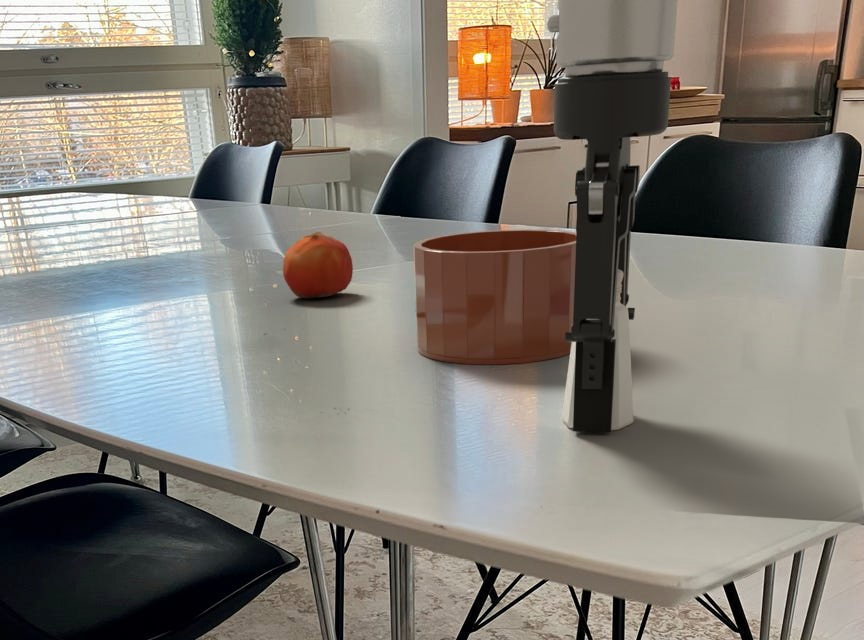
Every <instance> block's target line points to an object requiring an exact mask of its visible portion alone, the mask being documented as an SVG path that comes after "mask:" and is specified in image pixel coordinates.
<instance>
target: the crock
mask: <svg viewBox="0 0 864 640" xmlns="http://www.w3.org/2000/svg"><path fill="white" fill-rule="evenodd" d="M412 247H413V249H412V250H413V273H414V299H415V324H416V325H415V327H416V344H417V352H418V353H419V354H420V355H422V356H423V357H426V358H428V359H431V360H435V361H440V362H446V363H452V364H464V365H485V366H486V365H490V366H491V365H493V366H494V365H514V364H515V365H516V364H527V363H535V362H541V361H547V360H552V359H557V358H560V357H564V356H567V355H570V351H571V344H572V342H566V340H565V332H571V328H572V325H573V314H574V286H575V259H576V231H568V230H557V229H556V230H555V229H499V230H498V229H497V230H482V231H469V232H460V233H451V234H445V235H438V236H433V237H429V238H425V239H421V240H418V241H416V242H415V243H413V245H412Z"/></svg>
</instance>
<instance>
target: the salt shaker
mask: <svg viewBox="0 0 864 640" xmlns="http://www.w3.org/2000/svg"><path fill="white" fill-rule="evenodd" d="M623 275H624V273H623V271H621V270H619V269H618V275H617V288H616V302H615V315H614V328H613V329H614V330H615V336H614V337H613V339H616V347H615V366H614V386H613V405H612V424H611V431H618V430H621V429H623V428H626V427H627V426H630V425H631V424H633V422H634V403H633V402H634V400H633V384H632V383H633V382H632V381H633V380H632V379H633V378H632V377H633V376H632V359H631V358H632V355H631V338H630V337H631V333H630V320H629V315H628V308H629V307H627V305H626V306H624V305H623V304H621V303H620V300H621V297H620V293H621V292H622V291H621V290H622V288H621V287H622V285H621V282H622V279H623ZM586 320H600V319H586ZM575 353H576V342H572V344H571V351H570V354H569V360H568V367H567V375H566V382H565V390H564V397H563V406H562V414H561V419H562V421H563V423H564V424H565V425H566V426H567V428H569V429H573V413H574V383H575Z"/></svg>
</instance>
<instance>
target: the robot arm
mask: <svg viewBox="0 0 864 640" xmlns="http://www.w3.org/2000/svg"><path fill="white" fill-rule="evenodd" d="M556 5H557V6H556V7H557V10H558V12H559V13H558V14H556V15H555V14H554V15H551V16H549V17H548V21H547V23H546V28H547V30H548V32H549V33H555V34H556V33H558V34H557V36H556V44H555V45H556V48H555V49H556V52H555V54H556V55H555V60H556V61H555V62H556V65H557V66H558V67H559V68H564V72H565V73H564V74H565V77H560V78H557V83H554V93H553V94H554V98H553V134H554V136H555V137H556V138H558V139H560V140H564V141H577V140H578V141H579V140H586V141H587V148H586V154H585V167H583V166H582V167H581V169H579V170H576V173H575V183H574V196H575V197H576V223H575V233H576V259H575V286H574V314H573V325H572V328H571V332H565V340H566V342H576V353H575V383H574V413H573V428H572V432H588V433H589V432H591V433H611V432H612V430H611V424H612V405H613V386H614V366H615V347H616V339H613V337H614V336H615V330H614V329H613V328H614V315H615V302H616V288H617V275H618V269H619V270H621V271H623V273H624V275H623V279H622V282H621V285H622V287H621V288H622V290H621V291H622V292H621V293H620V297H621V300H620V303H621V304H623V305H624V306H626V307H627V305H628V303H629V302H630V294H629V293H628V292H629V275H630V257H631V255H630V254H631V235H632V229H633V227H634V223H635V219H636V218H635V216H636V215H635V213H636V211H635V210H636V194H637V192H638V189H639V185H640V177H641V176H640V175H641V173H640V172H641V166H640V165H631V138H639V137H640V138H641V137H650V136H657V135H660V134H663V133H664V132H665V131H666V130H667V128H668V126H669V118H670V117H669V115H670V100H671V86H672V76H669V71H664V63H665V62H667V61H670V60H672V58H673V57H674V55H675V41H676V25H677V14H678V13H677V12H678V0H557V4H556ZM627 308H628V315H629V321H633V320H634V319H635V313H636V308H635V307H627ZM586 319H600V320H586Z"/></svg>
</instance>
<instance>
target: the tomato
mask: <svg viewBox="0 0 864 640" xmlns="http://www.w3.org/2000/svg"><path fill="white" fill-rule="evenodd" d="M282 263H283V265H282V274H283V275H282V276H283V279H284V281H285V282H286V284H287V286H288V288H289V289H290V291H291V292H292V293H293V294H294V295H295V296H296V297H298V298H300V299H312V298H326V297H331V296H333V295H335V294H337V293H342V292H343V291H344V290H346V289H348V287H349V285H350V283H351V281H352V279H353V274H354V273H353V272H354V270H353V269H354V266H353V258H352V257H351V253H350V251H349V249H348V247H347V246H346V244H344V243H343V242H342V241H340V240H338V239H336V238H334V237H332V236H330V235H327V234H325V233H323V232H320V231H319V232H312V233H311V234H307V235H304V236H303V237H302V238H301V239H299V240H297V241H296V242H295V243H294V244H293V245H292V246H291V247H289V248H288V250H287V251H286V253H285V255H284V258H283V262H282Z"/></svg>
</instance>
